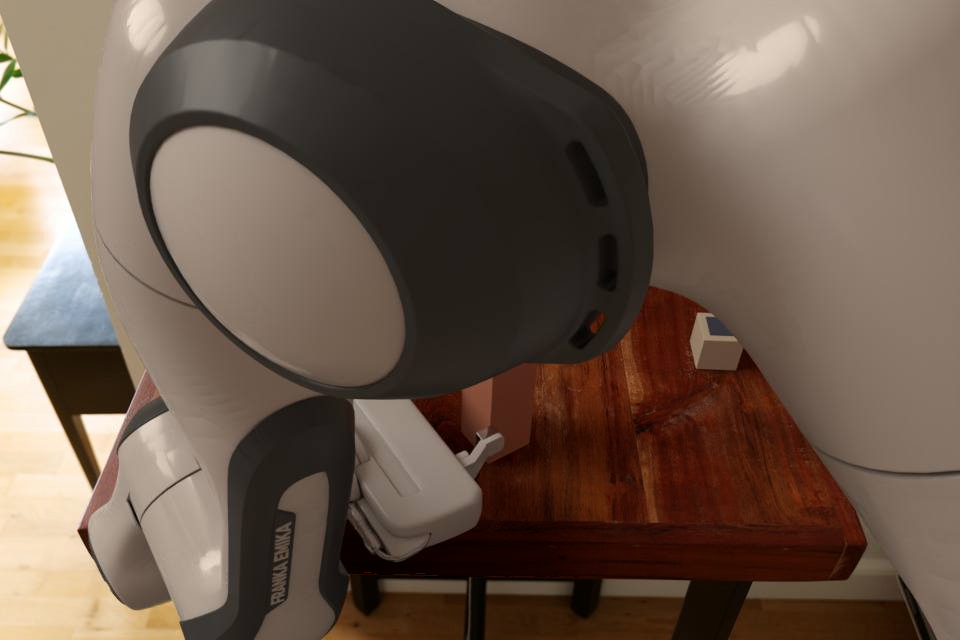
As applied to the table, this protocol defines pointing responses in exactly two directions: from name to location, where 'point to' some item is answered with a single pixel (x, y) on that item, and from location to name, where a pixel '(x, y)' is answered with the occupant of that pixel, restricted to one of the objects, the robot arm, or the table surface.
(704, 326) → the block
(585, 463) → the table surface
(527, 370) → the tall block
